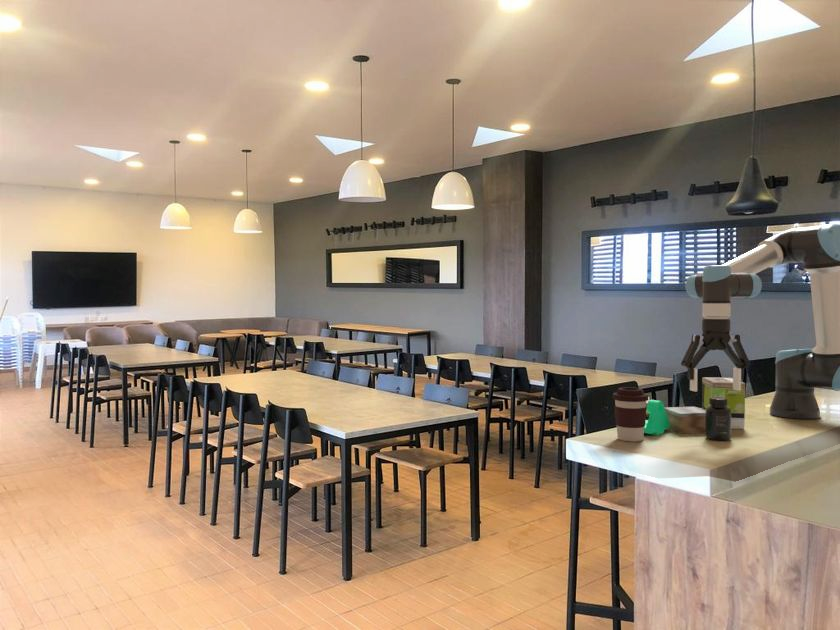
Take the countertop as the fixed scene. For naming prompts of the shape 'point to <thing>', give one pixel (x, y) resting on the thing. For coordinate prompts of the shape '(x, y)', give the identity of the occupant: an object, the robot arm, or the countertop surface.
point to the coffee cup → (630, 413)
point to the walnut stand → (686, 419)
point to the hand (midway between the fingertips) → (715, 390)
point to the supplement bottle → (718, 420)
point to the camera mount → (656, 418)
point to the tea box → (725, 390)
